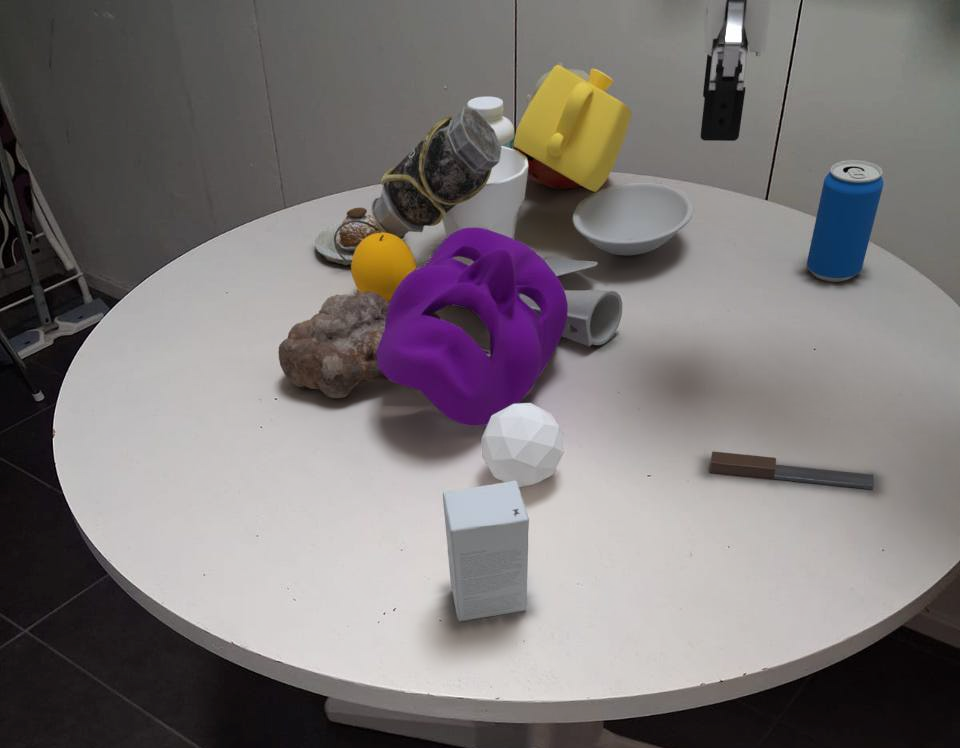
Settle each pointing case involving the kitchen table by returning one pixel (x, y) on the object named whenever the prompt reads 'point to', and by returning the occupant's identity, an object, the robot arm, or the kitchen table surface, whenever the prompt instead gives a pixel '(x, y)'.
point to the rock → (337, 344)
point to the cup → (493, 200)
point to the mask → (494, 298)
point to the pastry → (345, 236)
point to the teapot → (575, 126)
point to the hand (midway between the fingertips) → (719, 117)
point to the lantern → (436, 175)
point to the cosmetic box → (487, 549)
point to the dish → (632, 217)
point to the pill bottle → (494, 118)
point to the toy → (539, 169)
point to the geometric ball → (522, 444)
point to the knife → (784, 471)
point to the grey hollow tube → (588, 315)
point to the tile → (568, 265)
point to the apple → (381, 264)
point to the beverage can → (845, 220)
